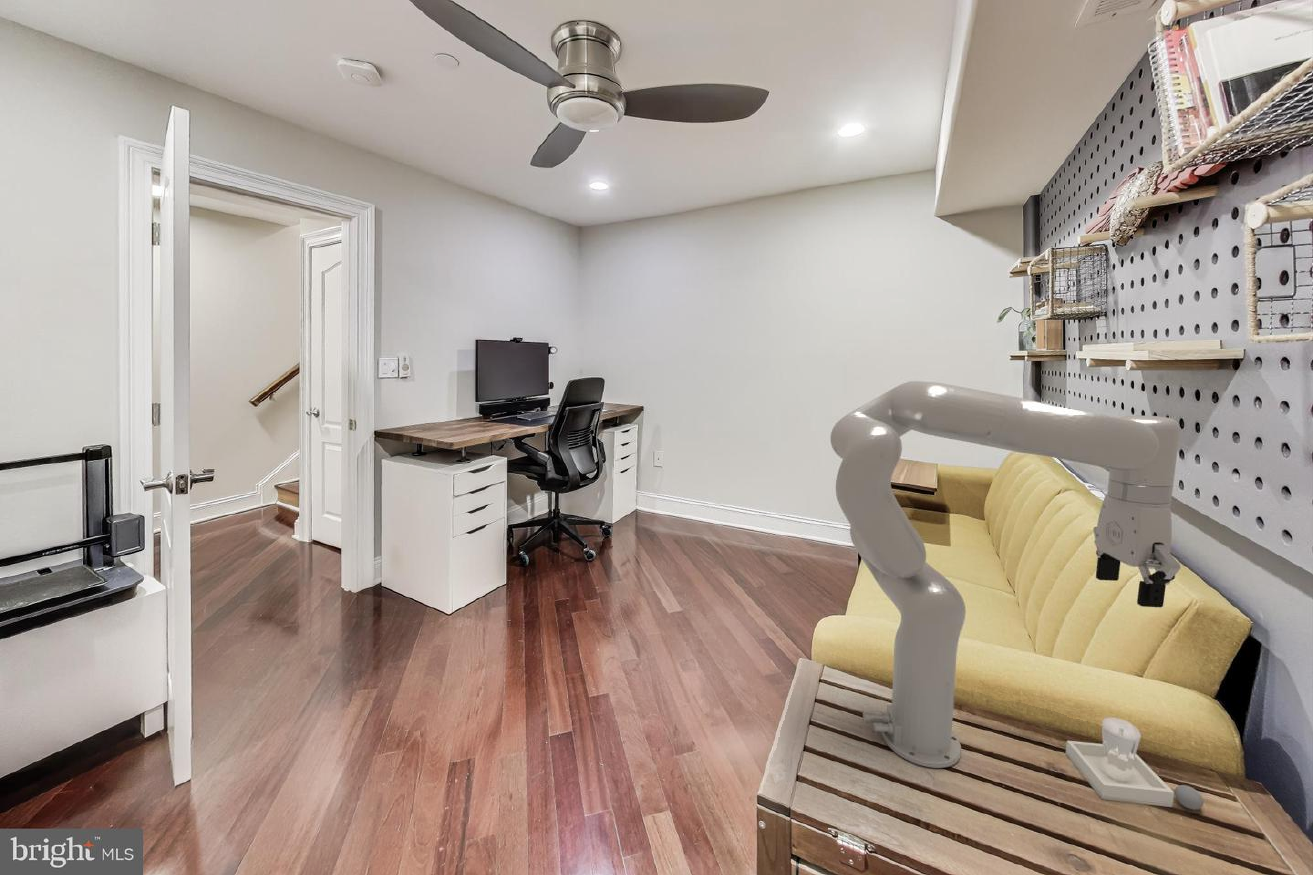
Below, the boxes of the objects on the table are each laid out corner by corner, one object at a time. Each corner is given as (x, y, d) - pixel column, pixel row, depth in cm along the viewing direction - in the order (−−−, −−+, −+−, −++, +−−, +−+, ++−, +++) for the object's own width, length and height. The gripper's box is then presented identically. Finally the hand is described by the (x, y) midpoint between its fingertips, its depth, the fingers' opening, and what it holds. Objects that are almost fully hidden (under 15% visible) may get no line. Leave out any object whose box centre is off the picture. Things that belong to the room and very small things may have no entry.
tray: (1102, 799, 77) (1103, 784, 77) (1065, 753, 86) (1066, 740, 86) (1172, 807, 76) (1174, 792, 75) (1127, 759, 85) (1129, 746, 84)
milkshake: (1095, 777, 80) (1101, 721, 79) (1097, 758, 84) (1104, 704, 83) (1134, 794, 77) (1141, 735, 76) (1135, 773, 81) (1142, 717, 80)
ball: (1184, 813, 75) (1186, 795, 74) (1167, 796, 78) (1170, 778, 77) (1208, 815, 74) (1210, 797, 74) (1190, 798, 77) (1193, 781, 77)
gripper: (1078, 479, 90) (1069, 570, 93) (1153, 507, 74) (1140, 616, 76) (1126, 480, 89) (1116, 572, 92) (1214, 508, 72) (1198, 619, 75)
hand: (1127, 592), depth 84 cm, fingers open, 9 cm apart
